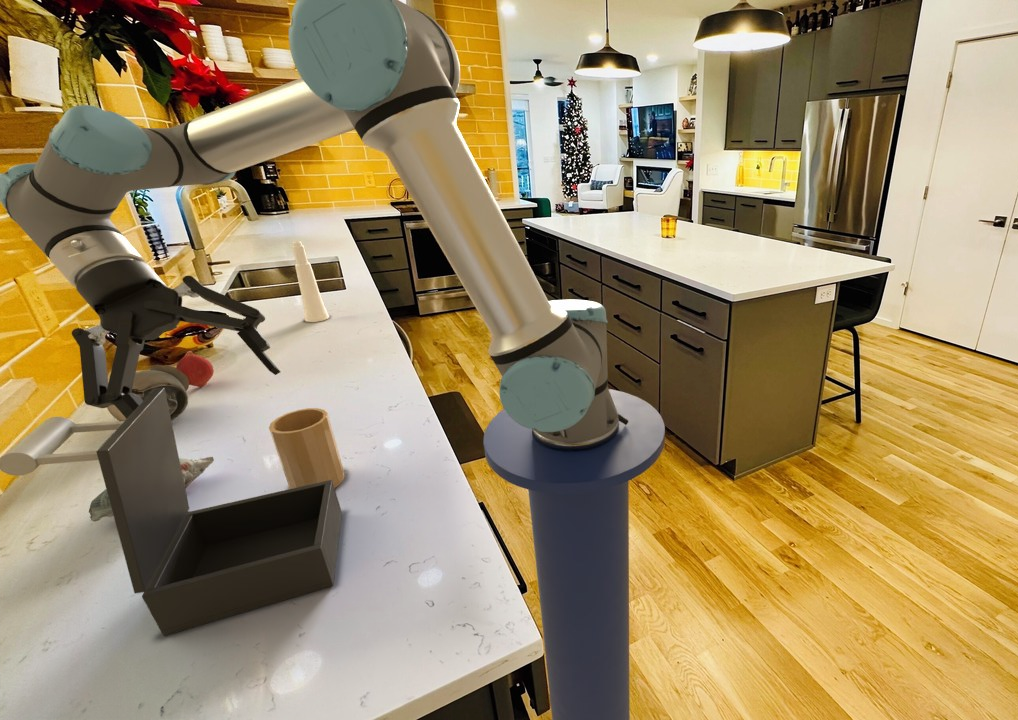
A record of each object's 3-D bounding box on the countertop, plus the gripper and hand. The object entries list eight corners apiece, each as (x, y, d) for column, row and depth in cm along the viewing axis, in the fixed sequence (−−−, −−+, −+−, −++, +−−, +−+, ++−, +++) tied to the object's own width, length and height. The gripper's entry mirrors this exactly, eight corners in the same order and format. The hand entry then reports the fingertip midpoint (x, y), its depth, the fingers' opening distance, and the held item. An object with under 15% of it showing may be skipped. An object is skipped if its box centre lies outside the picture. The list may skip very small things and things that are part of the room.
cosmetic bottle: (333, 315, 147) (314, 240, 139) (322, 322, 142) (302, 244, 133) (311, 315, 147) (291, 240, 138) (300, 322, 141) (278, 244, 133)
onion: (184, 395, 101) (169, 359, 98) (182, 386, 105) (168, 351, 102) (220, 387, 105) (207, 352, 101) (217, 378, 108) (204, 344, 105)
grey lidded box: (342, 513, 70) (332, 479, 67) (333, 585, 58) (320, 548, 56) (203, 548, 64) (186, 512, 61) (163, 636, 52) (141, 596, 50)
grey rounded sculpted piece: (208, 403, 98) (189, 354, 94) (181, 434, 88) (158, 381, 84) (144, 411, 95) (122, 362, 91) (108, 444, 85) (81, 390, 81)
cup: (346, 464, 80) (329, 404, 76) (342, 490, 74) (324, 426, 70) (294, 475, 77) (274, 413, 73) (287, 503, 72) (264, 437, 67)
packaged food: (219, 472, 78) (207, 445, 76) (163, 525, 67) (148, 496, 65) (157, 476, 77) (144, 450, 75) (91, 531, 66) (73, 502, 64)
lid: (164, 387, 56) (54, 391, 52) (107, 450, 44) (-39, 461, 40) (189, 508, 61) (91, 520, 57) (144, 592, 50) (19, 614, 46)
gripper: (-37, 320, 55) (93, 466, 56) (202, 215, 66) (308, 339, 67) (16, 339, 62) (131, 469, 63) (225, 241, 73) (321, 354, 74)
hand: (223, 402), depth 65 cm, fingers open, 13 cm apart
